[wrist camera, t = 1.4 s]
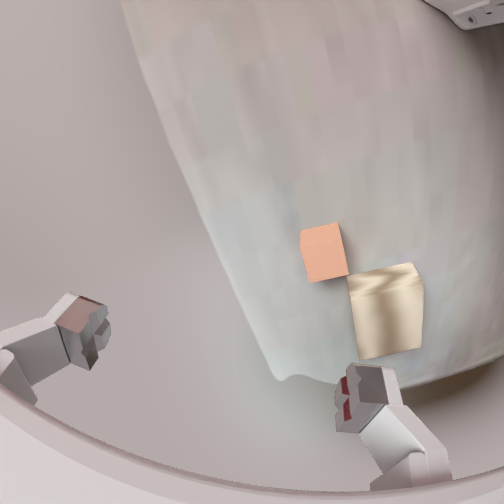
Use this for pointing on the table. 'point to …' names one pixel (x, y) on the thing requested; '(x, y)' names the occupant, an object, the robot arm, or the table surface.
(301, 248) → the terracotta cube
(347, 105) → the table surface
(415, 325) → the birch block
